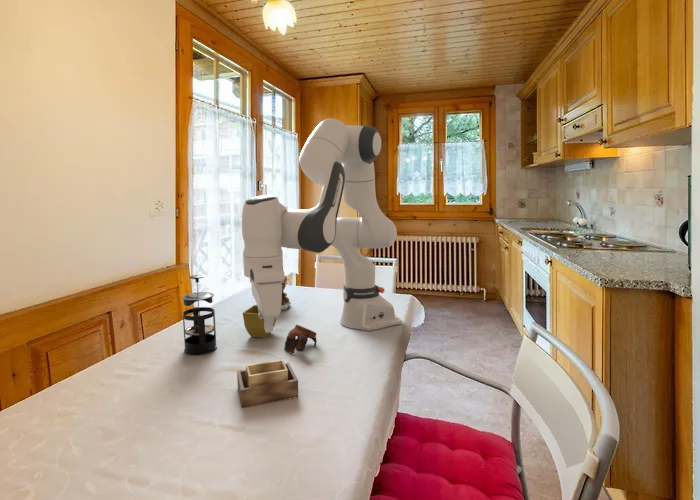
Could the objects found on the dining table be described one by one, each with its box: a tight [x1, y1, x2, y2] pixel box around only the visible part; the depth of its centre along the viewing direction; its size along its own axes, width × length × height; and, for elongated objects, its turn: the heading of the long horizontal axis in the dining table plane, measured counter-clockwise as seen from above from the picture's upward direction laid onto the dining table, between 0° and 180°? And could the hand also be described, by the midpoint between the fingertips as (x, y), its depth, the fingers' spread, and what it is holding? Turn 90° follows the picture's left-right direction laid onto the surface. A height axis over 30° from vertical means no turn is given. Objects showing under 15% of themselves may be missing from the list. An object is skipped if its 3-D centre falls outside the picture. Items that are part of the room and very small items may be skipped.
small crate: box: [245, 359, 288, 388], centre depth 91 cm, size 9×6×6 cm, turn 111°
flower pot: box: [242, 304, 277, 339], centre depth 128 cm, size 9×9×9 cm
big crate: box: [236, 362, 299, 409], centre depth 92 cm, size 13×10×4 cm
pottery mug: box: [283, 324, 318, 355], centre depth 117 cm, size 12×10×8 cm
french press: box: [181, 274, 218, 357], centre depth 115 cm, size 12×9×23 cm
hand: (265, 324), depth 90 cm, fingers open, 8 cm apart
